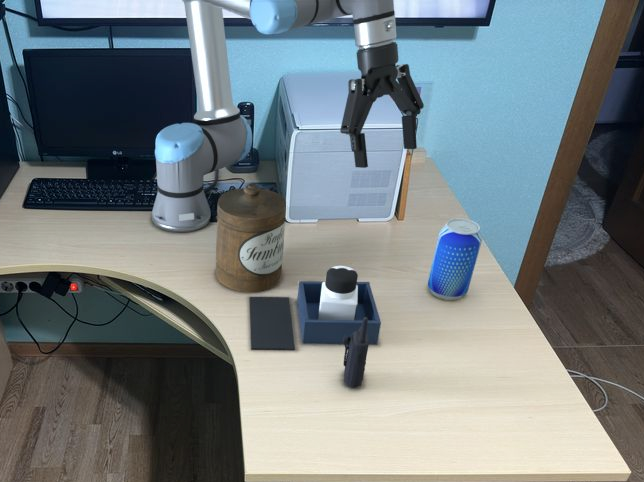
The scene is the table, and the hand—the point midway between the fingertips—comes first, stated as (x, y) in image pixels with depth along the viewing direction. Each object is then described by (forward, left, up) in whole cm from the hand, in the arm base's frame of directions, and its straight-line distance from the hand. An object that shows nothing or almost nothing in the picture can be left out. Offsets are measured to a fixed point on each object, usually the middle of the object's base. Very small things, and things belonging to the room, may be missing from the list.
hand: (386, 157), depth 135 cm
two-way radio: (+37, -9, -28) cm, 47 cm away
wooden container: (+1, -27, -28) cm, 39 cm away
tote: (+19, -9, -28) cm, 35 cm away
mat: (+19, -23, -28) cm, 41 cm away
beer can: (+7, +16, -28) cm, 33 cm away
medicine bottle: (+19, -9, -27) cm, 35 cm away
